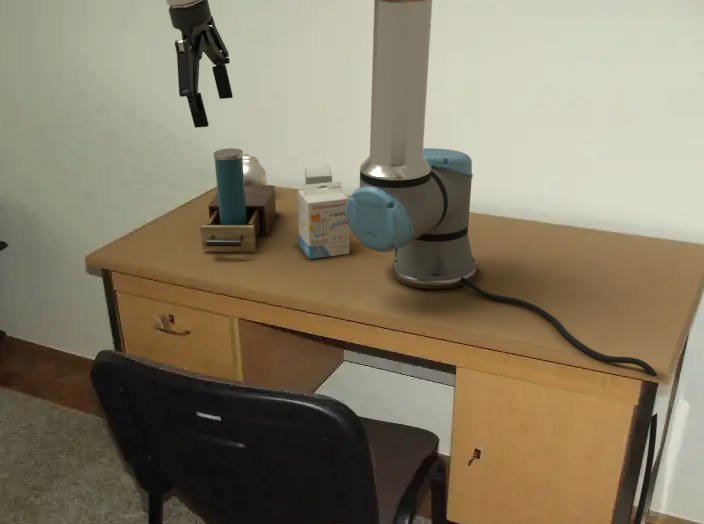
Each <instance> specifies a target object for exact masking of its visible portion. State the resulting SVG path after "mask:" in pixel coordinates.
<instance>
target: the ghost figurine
mask: <svg viewBox="0 0 704 524" xmlns="http://www.w3.org/2000/svg"><path fill="white" fill-rule="evenodd" d="M242 158H243V172H244V186H267V182H268V176H267V172H266V170H265V169H264V167H263V165H261V164H260V160H259V159H258V158H257V157H256V156H254V155H250V154H248V153H243V156H242Z"/></svg>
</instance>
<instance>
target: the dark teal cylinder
mask: <svg viewBox="0 0 704 524" xmlns="http://www.w3.org/2000/svg"><path fill="white" fill-rule="evenodd" d="M243 155H244V151H243V150H242V149H240V148H234V147H232V148H229V147H228V148H221V149H218V150H215V151H214V152H213V159H214V167H215V177H216V179H215V180H216V191H217V192H218V204H219V215H220V225H247V215H246V201H245V187H244V172H243V158H242V156H243ZM217 192H216V193H217Z"/></svg>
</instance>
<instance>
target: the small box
mask: <svg viewBox="0 0 704 524" xmlns="http://www.w3.org/2000/svg"><path fill="white" fill-rule="evenodd" d="M304 182H305V184H304V185H307V184H319V183H328V182H333V174H332V171H331V166H330V165H329V164H328V165H312V166H305V167H304ZM325 187H326V186H320V187H318V188H325Z"/></svg>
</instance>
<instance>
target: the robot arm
mask: <svg viewBox="0 0 704 524" xmlns="http://www.w3.org/2000/svg"><path fill="white" fill-rule="evenodd" d="M165 1H166V4H167V5H168V6H169V7H168V13H169V17H170V21H171V25H172V28H174V29H175V30H178V31H180V32H181V39H179V40H178V39H177V40H175V41H174V47H175V52H176V64H177V76H178V77H177V79H178V80H177V82H178V95H179V97H180V98H182V97H183V98H184V97H186V100H187V103H188V108H189V111H190V115H191V119H192V122H193V125H194V129H195V128H208V127H209V125H210V124H209V120H208V116H207V112H206V108H205V104H204V100H203V96H202V93H201V92H199V80H200V78H199V77H200V61H201V60H202V59H203V53H204V54H205V56H206V57H207V58H208V59H209V61H210V63H212V65H213V66H212V68H211V69H212V74H213V77H214V82H215V85H216V89H217V93H218V98H219V100H223V99H224V100H225V99H232V98H233V97H234V96H233V95H234V94H233V91H232V87H231V82H230V78H229V74H228V70H227V65H229V64H230V62H231V60H230V57H229V56H230V54H229V51H228V48H227V47H226V45H225V42H224V40H223V39H222V36H221V34H220V31H219V30H218V28H217V27H216V23H215V20H214V19H215V18H214V17H213V15H212V12H211V8H210V2H209V0H165ZM432 11H433V0H373V27H372V28H373V29H372V65H371V69H372V70H371V96H370V98H371V100H370V101H371V103H370V130H369V131H370V133H369V135H370V136H369V137H370V138H369V156H368V157H367V158H366V159H365V160H364V161H363V162H362V163H361V164H360V167H359V187H357V188H356V189H355V190H354V191H353V192H352V193H351V195H349V196H348V198H349V199H348V201H347V204H346V218H347V222H348V225H349V230H350V232H351V233H352V234H353V235H354V236H356V238H357V241H359V242H360V244H362V245H363V246H364V247H366V248H368V249H370V250H372V251H375V252H377V253H378V252H379V253H389V252H392V251H394V260H393V261H392V272H391V273H392V276H393V278H394V279H395V280H396V281H397V282H399V283H400V284H402V285H405V286H407V287H411V288H414V289H421V290H428V291H429V290H430V291H441V290H442V291H443V290H451V289H455V288H459V287H463V286H465V285H466V286H467V287H468V288H470V289H471V290H473V291H474V292H476V293H477V294H479V295H480V296H482V297H483V298H487V299H489V300H493V301H498V302H503V303H509V304H514V305H519V306H522V307H524V308H527V309H529V310H532V311H534V312H535V313H537V314H539V315H540V316H542V317H543V318H545V319H546V320H547V321H548V322H550V323H551V324H553V326H554V327H555V328H556V329H557V331H558V332H559V333H560V334H561V335H562V337H564V338H565V339H566V340H567V341H568V342H569V343H571V344H572V345H574V346H575V347H576V348H578V349H579V350H580V351H582V352H583V353H585V354H587V355H589V356H591V357H593V358H594V359H597V360H600V361H603V362H606V363H613V364H614V363H616V364H630V365H635V366H638V367H640V368H642V369H643V370H644V371H645V372H646V373H647V374H648V375H649V376H651V377H657V376H658V375H657V372H656V371H655V369H654V368H653V367H652V366H651V365H650V364H649V363H648V362H645V361H644V360H642V359H640V358H636V357H631V356H630V357H629V356H613V355H606V354H603V353H601V352H598V351H596V350H594V349H592V348H590V347H588V346H587V345H585V344H584V343H582V342H581V341H579V340H578V339H577V338H576V337H575V336H573V335H572V334H570V333H569V332H568V330H567V329H566V328H565V327H564V325H563V324H562V323H561V322H560V321H559V319H557V318H556V317H554V316H553V315H552V314H550V313H549V312H547V311H546V310H545V309H543V308H541V307H539V306H537V305H535V304H533V303H531V302H528V301H525V300H523V299H519V298H516V297H510V296H504V295H498V294H495V293H492V292H491V293H490V292H487V291H485V290H484V289H482V288H480V286H478V285H477V284H475V283H473V282H472V281H473V280H474V279H475V277H476V273H477V263H476V261H475V257H474V256H473V252H472V247H471V243H470V238H469V223H470V222H469V221H470V211H471V210H470V207H471V194H472V182H473V181H472V180H473V176H474V175H473V161H472V158H471V157H470V155H468V154H467V153H464V152H462V151H459V150H454V149H447V148H434V147H432V148H431V147H430V148H429V147H425V148H424V144H425V129H426V128H425V127H426V113H427V112H426V111H427V94H428V79H429V77H428V76H429V63H430V61H429V59H430V45H431V44H430V43H431V30H432V28H431V27H432V13H433V12H432ZM649 421H650V422H649V436H648V446H647V455H646V461H645V468H644V475H643V479H642V485H641V490H640V495H639V501H638V505H637V508H636V513H635V518H634V522H633V524H642V519H643V514H644V511H645V505H646V502H647V497H648V491H649V488H650V487H649V486H650V482H651V476H652V471H653V464H654V458H655V450H656V441H657V430H658V412H655V413H654V414H653V415H652V416H650V419H649Z"/></svg>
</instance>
